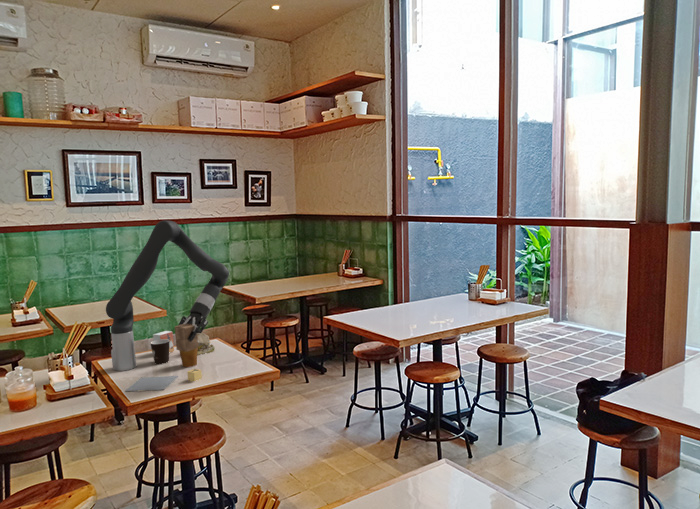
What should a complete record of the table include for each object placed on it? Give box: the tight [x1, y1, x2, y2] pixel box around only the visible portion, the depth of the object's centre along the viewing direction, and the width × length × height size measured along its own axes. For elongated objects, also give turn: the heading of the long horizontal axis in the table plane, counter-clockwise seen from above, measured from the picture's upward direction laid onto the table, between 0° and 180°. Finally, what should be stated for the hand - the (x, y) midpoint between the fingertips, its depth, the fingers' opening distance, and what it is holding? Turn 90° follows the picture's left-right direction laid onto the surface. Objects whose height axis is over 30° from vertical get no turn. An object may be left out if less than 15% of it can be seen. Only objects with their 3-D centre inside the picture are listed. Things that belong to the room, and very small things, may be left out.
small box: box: [152, 330, 175, 353], centre depth 265 cm, size 8×6×10 cm
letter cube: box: [187, 368, 203, 382], centre depth 222 cm, size 4×4×4 cm
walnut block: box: [174, 324, 198, 352], centre depth 220 cm, size 6×6×10 cm
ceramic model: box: [197, 332, 216, 356], centre depth 264 cm, size 14×11×10 cm
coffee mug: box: [150, 339, 170, 365], centre depth 251 cm, size 12×9×10 cm
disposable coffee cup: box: [178, 341, 199, 368], centre depth 243 cm, size 10×10×12 cm
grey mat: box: [124, 375, 179, 392], centre depth 220 cm, size 16×16×1 cm
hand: (183, 339), depth 219 cm, fingers closed on walnut block, 6 cm apart
